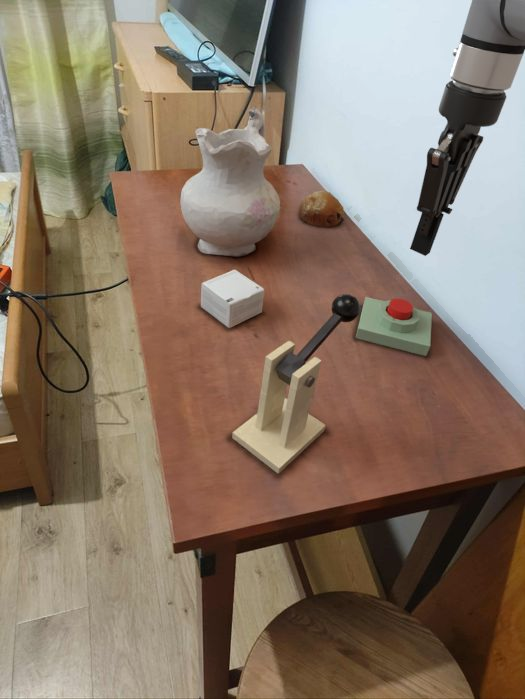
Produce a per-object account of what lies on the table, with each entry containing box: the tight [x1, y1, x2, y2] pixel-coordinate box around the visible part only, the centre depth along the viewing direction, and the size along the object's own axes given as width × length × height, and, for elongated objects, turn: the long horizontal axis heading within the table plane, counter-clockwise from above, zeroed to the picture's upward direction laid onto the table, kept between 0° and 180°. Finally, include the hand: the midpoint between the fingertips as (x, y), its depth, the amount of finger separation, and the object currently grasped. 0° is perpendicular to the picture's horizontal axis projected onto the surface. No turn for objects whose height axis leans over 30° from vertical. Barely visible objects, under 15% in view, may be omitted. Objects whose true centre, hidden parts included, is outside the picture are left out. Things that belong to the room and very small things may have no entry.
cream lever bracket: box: [232, 340, 326, 474], centre depth 64 cm, size 10×8×14 cm
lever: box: [276, 293, 361, 386], centre depth 63 cm, size 14×4×4 cm, turn 139°
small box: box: [200, 269, 266, 329], centre depth 87 cm, size 8×8×5 cm
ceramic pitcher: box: [179, 106, 281, 257], centre depth 99 cm, size 22×20×25 cm
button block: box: [355, 296, 433, 357], centre depth 88 cm, size 12×10×4 cm
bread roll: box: [298, 190, 346, 228], centre depth 118 cm, size 10×10×8 cm
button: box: [387, 298, 414, 320], centre depth 86 cm, size 4×4×2 cm
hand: (419, 250), depth 79 cm, fingers closed
